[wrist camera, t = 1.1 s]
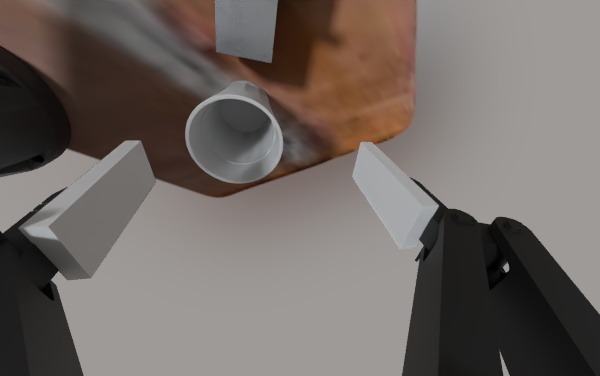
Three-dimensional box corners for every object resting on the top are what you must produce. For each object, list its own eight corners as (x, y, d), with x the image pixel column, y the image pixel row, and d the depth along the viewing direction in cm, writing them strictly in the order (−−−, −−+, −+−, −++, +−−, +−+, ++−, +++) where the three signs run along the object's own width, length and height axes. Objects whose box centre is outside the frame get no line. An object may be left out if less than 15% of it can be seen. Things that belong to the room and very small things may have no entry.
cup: (281, 130, 30) (290, 174, 21) (225, 141, 30) (208, 191, 20) (268, 67, 26) (272, 85, 16) (202, 79, 25) (165, 105, 16)
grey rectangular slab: (222, 49, 23) (214, 52, 19) (221, -60, 18) (210, -86, 14) (292, 64, 24) (298, 69, 20) (306, -34, 20) (317, -50, 16)
